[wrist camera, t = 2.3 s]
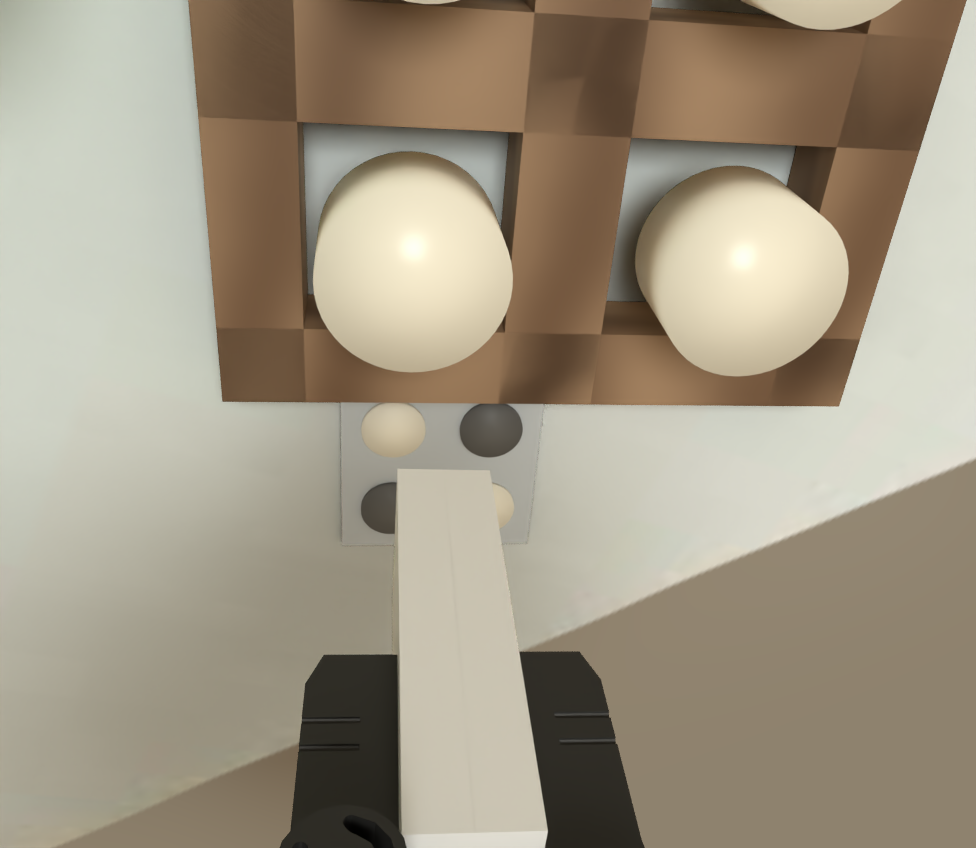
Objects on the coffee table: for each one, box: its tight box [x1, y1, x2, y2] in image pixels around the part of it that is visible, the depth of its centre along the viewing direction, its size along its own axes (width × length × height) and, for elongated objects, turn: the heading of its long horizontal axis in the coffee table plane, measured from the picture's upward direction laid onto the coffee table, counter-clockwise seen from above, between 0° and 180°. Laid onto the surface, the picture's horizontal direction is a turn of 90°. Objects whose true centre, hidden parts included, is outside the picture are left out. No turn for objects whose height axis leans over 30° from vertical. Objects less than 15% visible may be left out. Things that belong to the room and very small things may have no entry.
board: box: [188, 0, 967, 406], centre depth 26 cm, size 20×20×2 cm
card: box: [341, 402, 544, 546], centre depth 33 cm, size 7×7×1 cm
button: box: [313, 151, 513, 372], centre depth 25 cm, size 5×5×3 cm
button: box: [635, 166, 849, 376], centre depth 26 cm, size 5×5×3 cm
